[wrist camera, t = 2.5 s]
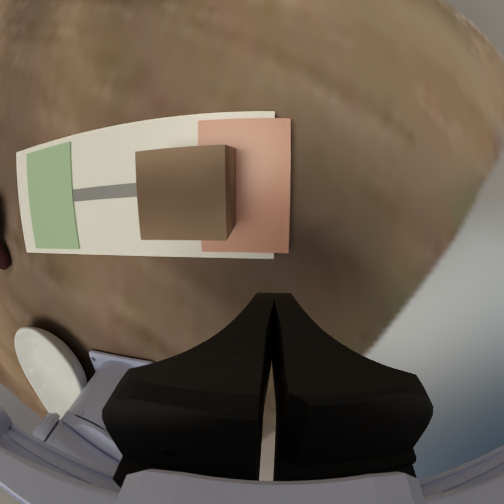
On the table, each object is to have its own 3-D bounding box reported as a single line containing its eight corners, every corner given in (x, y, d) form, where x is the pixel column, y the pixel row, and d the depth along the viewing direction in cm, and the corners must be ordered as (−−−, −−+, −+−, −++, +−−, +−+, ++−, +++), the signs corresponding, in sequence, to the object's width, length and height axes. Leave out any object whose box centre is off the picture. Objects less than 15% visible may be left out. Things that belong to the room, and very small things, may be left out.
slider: (236, 224, 19) (226, 240, 15) (165, 224, 19) (140, 240, 15) (235, 148, 17) (224, 144, 13) (161, 152, 18) (135, 151, 14)
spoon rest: (17, 320, 26) (-16, 347, 20) (66, 307, 25) (24, 343, 18) (105, 442, 33) (89, 473, 26) (163, 448, 31) (149, 487, 24)
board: (287, 254, 21) (288, 260, 19) (33, 249, 22) (25, 252, 21) (289, 114, 18) (290, 111, 16) (23, 151, 19) (14, 152, 18)
